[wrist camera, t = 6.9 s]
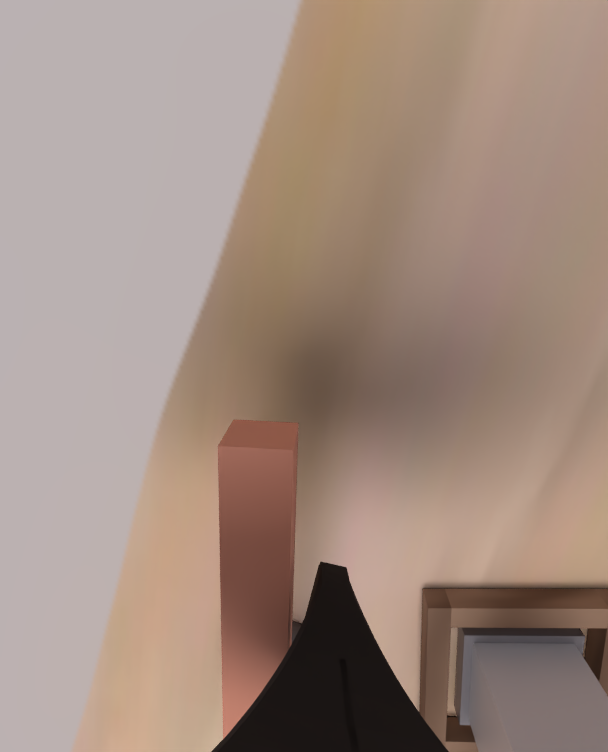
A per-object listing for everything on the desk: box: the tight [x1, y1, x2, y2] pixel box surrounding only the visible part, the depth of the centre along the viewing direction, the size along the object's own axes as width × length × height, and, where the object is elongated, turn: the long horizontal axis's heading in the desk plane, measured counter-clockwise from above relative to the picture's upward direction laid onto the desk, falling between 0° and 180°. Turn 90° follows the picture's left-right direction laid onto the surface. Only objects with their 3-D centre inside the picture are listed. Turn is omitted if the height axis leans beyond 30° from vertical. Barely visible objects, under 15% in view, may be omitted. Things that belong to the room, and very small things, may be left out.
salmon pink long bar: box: [218, 420, 298, 739], centre depth 13 cm, size 17×3×2 cm, turn 178°
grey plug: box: [454, 627, 608, 752], centre depth 18 cm, size 5×5×7 cm
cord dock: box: [292, 589, 608, 752], centre depth 18 cm, size 18×9×7 cm, turn 93°
